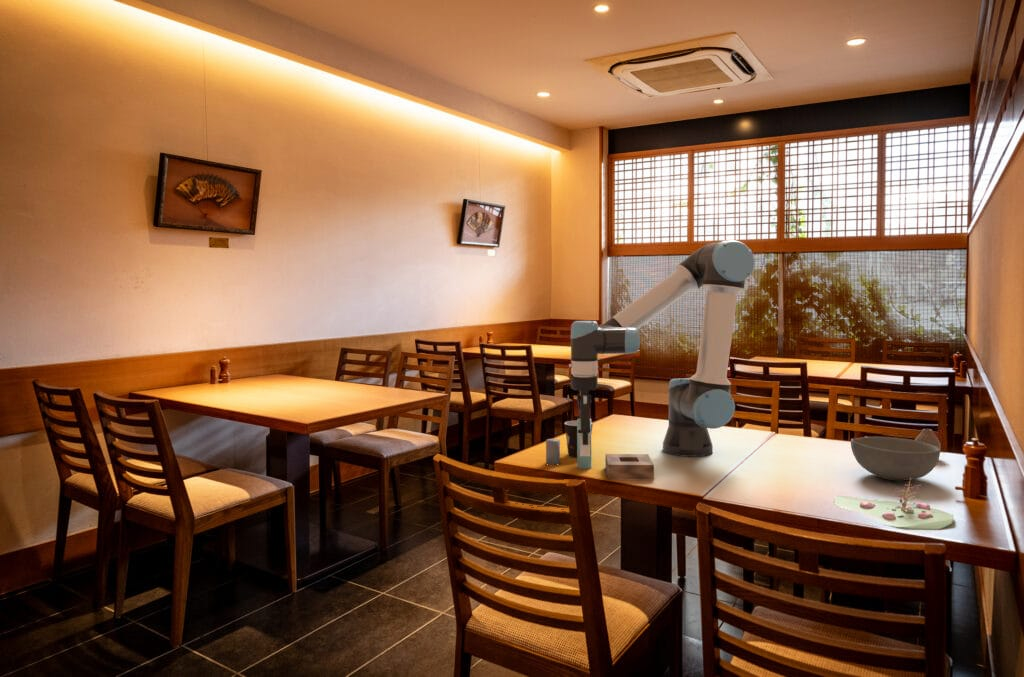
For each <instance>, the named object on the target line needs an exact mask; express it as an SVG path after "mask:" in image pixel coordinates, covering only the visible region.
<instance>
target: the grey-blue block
mask: <svg viewBox="0 0 1024 677" xmlns="http://www.w3.org/2000/svg"><path fill="white" fill-rule="evenodd" d="M560 442H561V440H560V439H558V438H547V439H546V440H545V465H547V464H548V465H547V466H550V465H556V466H558V465H557V464H559V465H560V464H561V457H560V456H561V450H560V449H561V446H560V444H561V443H560Z"/></svg>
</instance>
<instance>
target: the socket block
mask: <svg viewBox="0 0 1024 677" xmlns="http://www.w3.org/2000/svg"><path fill="white" fill-rule="evenodd" d="M604 459H605V463H604V464H605V465H604V466H605V471H606V474H607V479H608V480H615V479H634V481H636V480H637V481H641V480H642V481H644V480H645V481H653V480H655V464H654V463H653V460H652V459H651V457H650V455H649V454H647V453H645V454H644V453H605V458H604ZM635 479H636V480H635Z"/></svg>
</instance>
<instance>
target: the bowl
mask: <svg viewBox="0 0 1024 677" xmlns="http://www.w3.org/2000/svg"><path fill="white" fill-rule="evenodd" d="M850 448H851V451H852V454H853V456H854V458H855V460H856V462H857V464H858V465H859V466H861V467H862V468H863V469H864V470H866V471H867V472H869V473H870V474H872V475H875V476H876V477H879V478H881V479H885V480H888V481H896V482H897V481H901V482H902V481H911V480H917V479H920V478H923V477H926V476H927V475H928V474H929V473H931V472H932V471H933V470H934V468H936V466H937V464H938V462H939V459H940V454H941V451H940V450H939V448H938V447H936V446H933V445H931V444H927V443H924V442H920V441H916V440H915V439H909V438H902V437H895V436H894V437H892V436H866V437H865V436H863V437H858V438H856V437H855V438H851V439H850ZM910 478H912V479H911V480H910Z"/></svg>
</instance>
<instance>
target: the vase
mask: <svg viewBox="0 0 1024 677" xmlns="http://www.w3.org/2000/svg"><path fill="white" fill-rule="evenodd" d="M914 440H916V441H920V442H924V443H927V444H931V445H933V446H936V447H938V448H939V450H940V452H941V449H942V446H941V442H940V439H939V438H938V436H937V435H936V434H935V432H934V430H933V429H930V428H923V429H922V430H921V432H920V433H919V434H918V435H917V436H916V437H915V438H914Z"/></svg>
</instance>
